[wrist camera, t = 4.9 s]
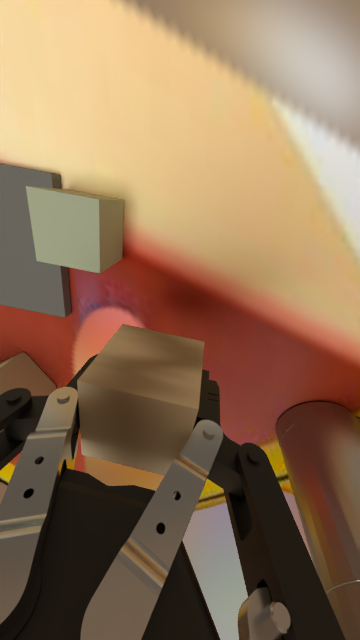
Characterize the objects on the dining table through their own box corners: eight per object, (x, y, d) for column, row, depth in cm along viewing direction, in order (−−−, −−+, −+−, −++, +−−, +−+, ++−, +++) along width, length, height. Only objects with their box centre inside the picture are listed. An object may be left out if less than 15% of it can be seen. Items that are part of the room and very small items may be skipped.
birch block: (204, 341, 13) (198, 409, 9) (189, 401, 16) (178, 479, 11) (122, 323, 14) (77, 380, 9) (119, 385, 16) (81, 454, 11)
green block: (124, 200, 19) (98, 199, 15) (122, 258, 21) (99, 273, 17) (67, 189, 19) (25, 186, 15) (72, 248, 22) (36, 260, 17)
